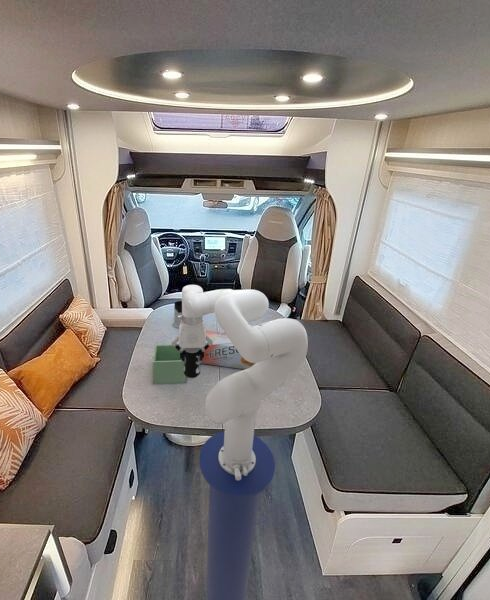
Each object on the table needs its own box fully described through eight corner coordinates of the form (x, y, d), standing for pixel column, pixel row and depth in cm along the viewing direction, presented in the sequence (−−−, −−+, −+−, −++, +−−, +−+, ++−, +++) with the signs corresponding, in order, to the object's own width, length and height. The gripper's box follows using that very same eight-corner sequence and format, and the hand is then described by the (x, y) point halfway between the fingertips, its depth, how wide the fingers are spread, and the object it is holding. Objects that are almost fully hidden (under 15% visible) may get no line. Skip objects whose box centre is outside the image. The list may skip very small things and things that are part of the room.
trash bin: (185, 382, 145) (185, 361, 141) (153, 383, 144) (152, 362, 140) (185, 364, 159) (184, 344, 154) (156, 365, 158) (155, 345, 153)
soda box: (191, 363, 159) (191, 341, 154) (196, 349, 172) (197, 328, 167) (272, 373, 153) (275, 351, 148) (272, 358, 166) (274, 336, 161)
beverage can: (193, 381, 120) (193, 354, 116) (180, 374, 124) (180, 348, 119) (203, 373, 125) (204, 347, 120) (190, 367, 129) (191, 341, 124)
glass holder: (172, 322, 201) (172, 301, 195) (194, 320, 205) (194, 299, 199) (175, 328, 193) (174, 306, 187) (197, 326, 197) (197, 304, 191)
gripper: (168, 323, 111) (169, 365, 118) (216, 322, 112) (215, 364, 119) (168, 314, 117) (169, 354, 125) (214, 313, 119) (213, 353, 126)
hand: (192, 358), depth 122 cm, fingers closed on beverage can, 6 cm apart
